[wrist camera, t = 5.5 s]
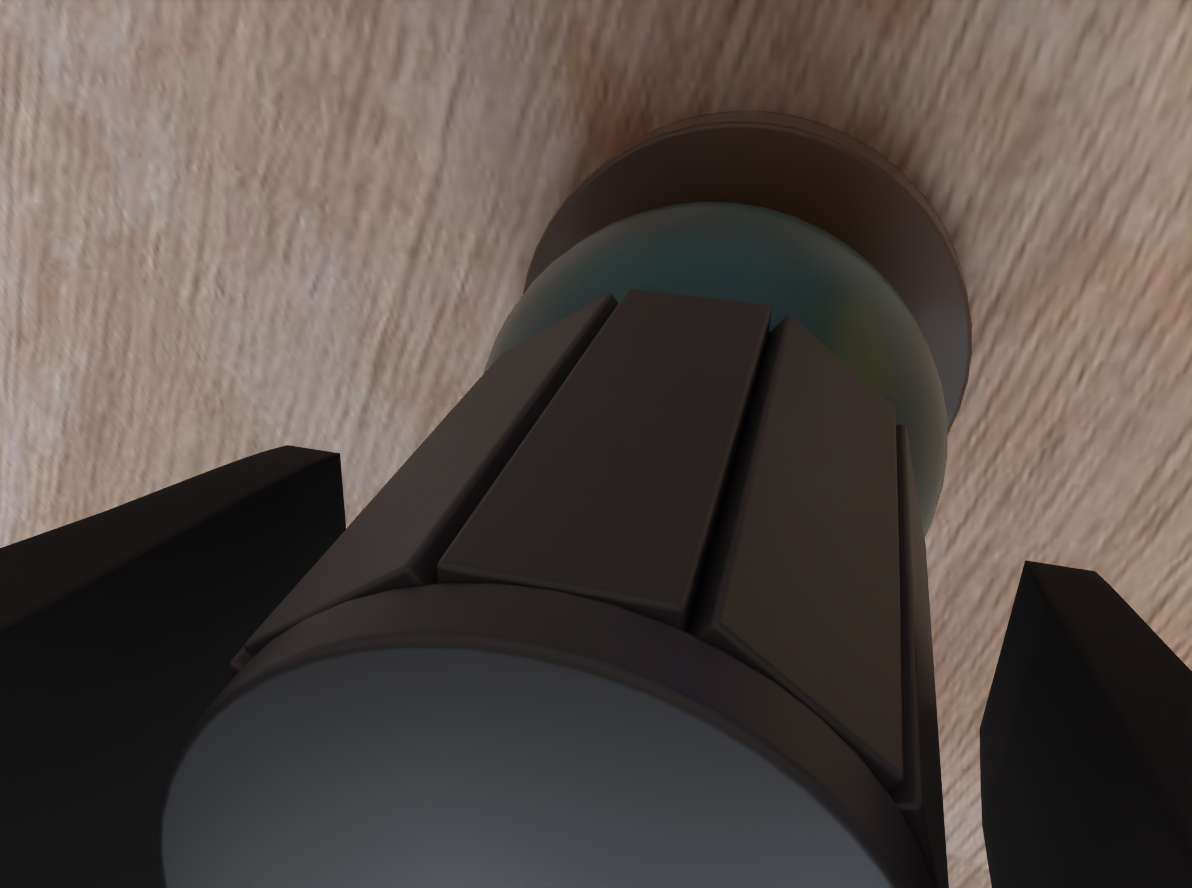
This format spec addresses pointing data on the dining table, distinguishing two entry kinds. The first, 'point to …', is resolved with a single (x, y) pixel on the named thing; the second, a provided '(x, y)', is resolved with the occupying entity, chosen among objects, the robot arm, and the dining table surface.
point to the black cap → (599, 639)
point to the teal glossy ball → (774, 256)
